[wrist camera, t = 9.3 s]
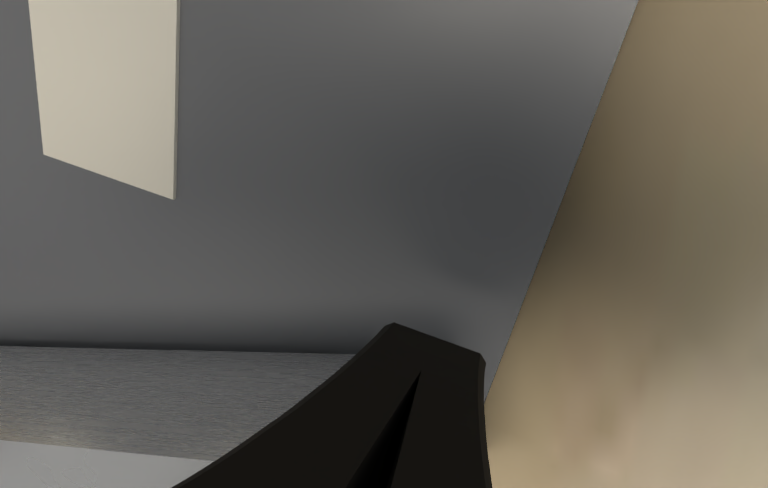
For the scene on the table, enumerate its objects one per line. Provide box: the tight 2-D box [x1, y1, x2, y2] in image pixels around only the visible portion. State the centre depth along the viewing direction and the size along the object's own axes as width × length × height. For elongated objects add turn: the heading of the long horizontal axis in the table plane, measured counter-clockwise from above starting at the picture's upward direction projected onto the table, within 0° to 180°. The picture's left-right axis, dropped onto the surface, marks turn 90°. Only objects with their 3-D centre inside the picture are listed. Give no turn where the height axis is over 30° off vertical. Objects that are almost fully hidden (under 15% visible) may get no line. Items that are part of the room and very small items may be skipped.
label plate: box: [0, 0, 638, 402], centre depth 14 cm, size 16×17×1 cm
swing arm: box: [0, 346, 356, 488], centre depth 14 cm, size 17×4×3 cm, turn 103°
